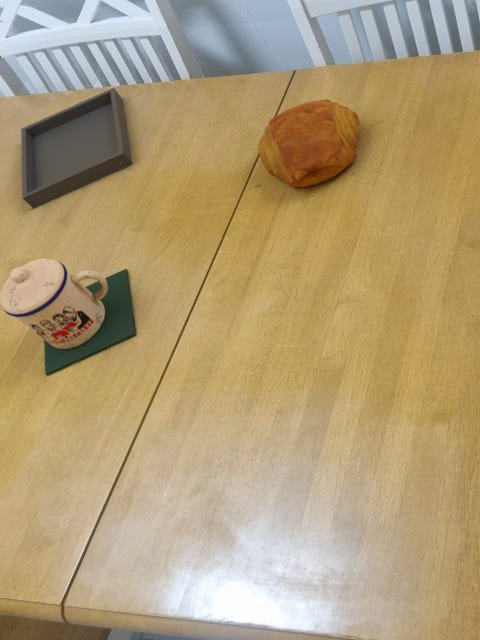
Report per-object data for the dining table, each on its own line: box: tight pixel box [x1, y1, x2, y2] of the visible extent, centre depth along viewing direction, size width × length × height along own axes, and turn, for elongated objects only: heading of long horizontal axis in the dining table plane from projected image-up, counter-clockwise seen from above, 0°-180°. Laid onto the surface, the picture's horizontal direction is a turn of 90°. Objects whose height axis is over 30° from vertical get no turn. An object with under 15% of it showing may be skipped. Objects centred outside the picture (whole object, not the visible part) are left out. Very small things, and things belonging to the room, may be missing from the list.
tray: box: [20, 87, 133, 209], centre depth 124 cm, size 18×20×2 cm
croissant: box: [257, 98, 361, 188], centre depth 108 cm, size 14×16×8 cm
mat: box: [43, 268, 137, 376], centre depth 102 cm, size 13×13×1 cm
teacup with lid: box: [0, 257, 108, 349], centre depth 97 cm, size 12×9×12 cm
